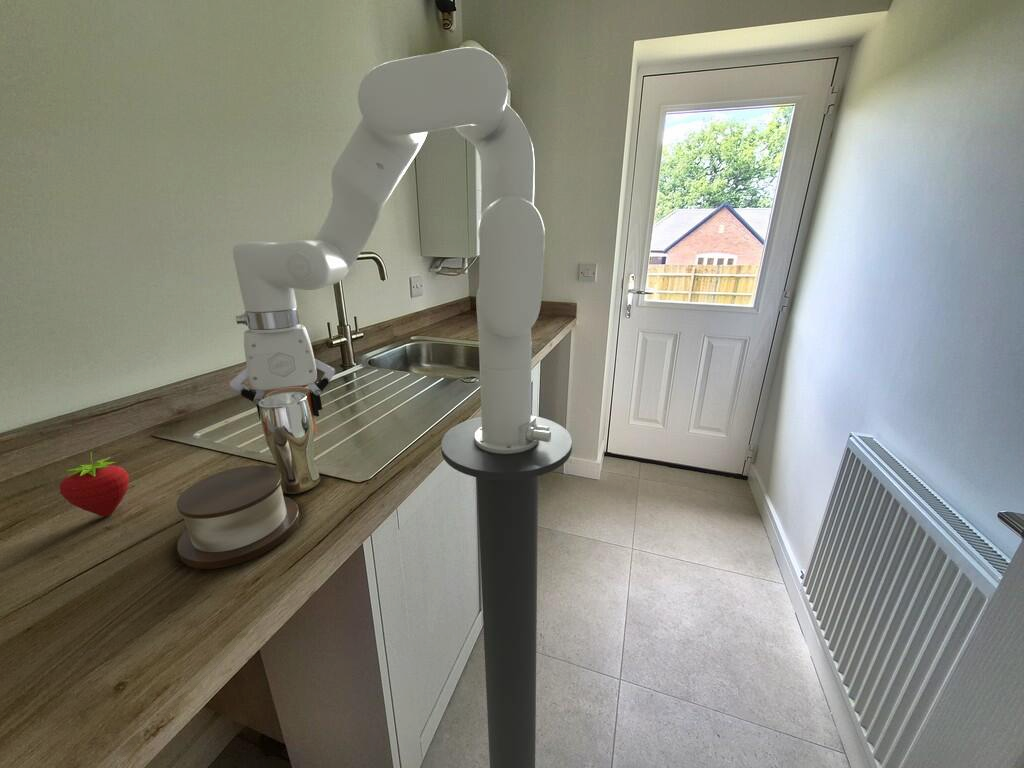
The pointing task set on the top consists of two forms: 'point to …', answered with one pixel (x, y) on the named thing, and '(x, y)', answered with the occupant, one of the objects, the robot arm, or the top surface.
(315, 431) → the terracotta cup
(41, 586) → the top surface
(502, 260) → the robot arm
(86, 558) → the top surface
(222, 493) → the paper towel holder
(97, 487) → the strawberry
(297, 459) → the beer glass
